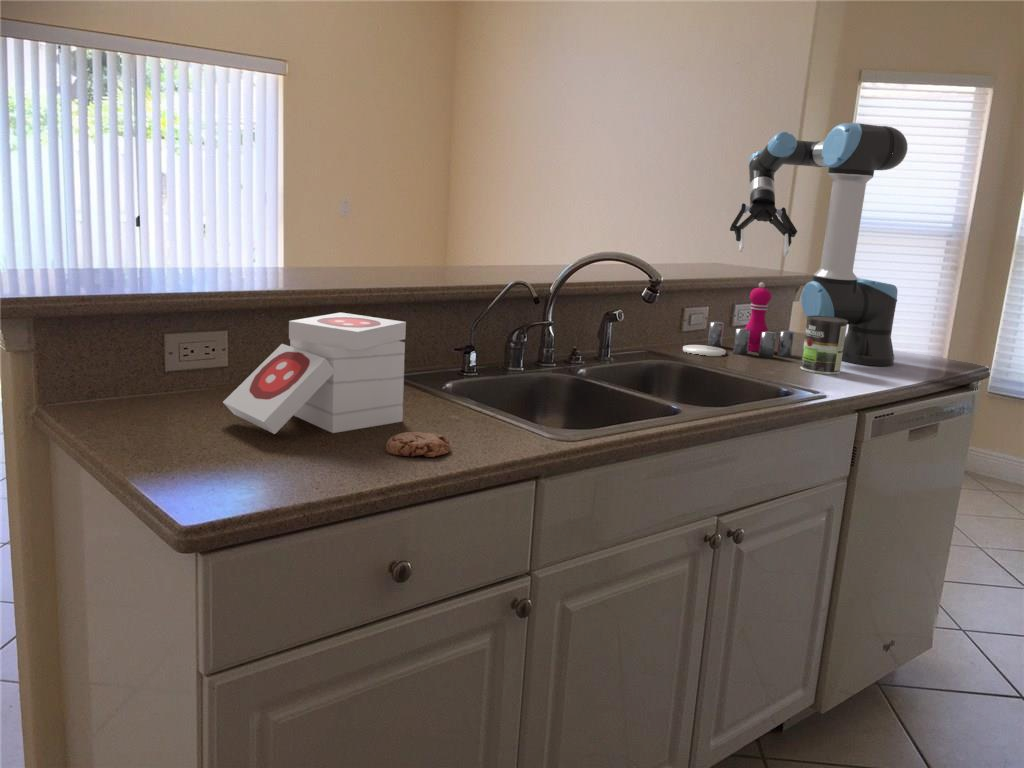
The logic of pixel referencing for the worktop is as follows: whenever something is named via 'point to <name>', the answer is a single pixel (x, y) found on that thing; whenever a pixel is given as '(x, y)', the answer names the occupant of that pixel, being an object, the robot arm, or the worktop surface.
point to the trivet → (704, 350)
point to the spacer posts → (743, 341)
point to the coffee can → (823, 345)
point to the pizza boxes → (328, 376)
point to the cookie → (418, 444)
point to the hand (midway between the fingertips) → (763, 251)
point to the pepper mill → (758, 316)
